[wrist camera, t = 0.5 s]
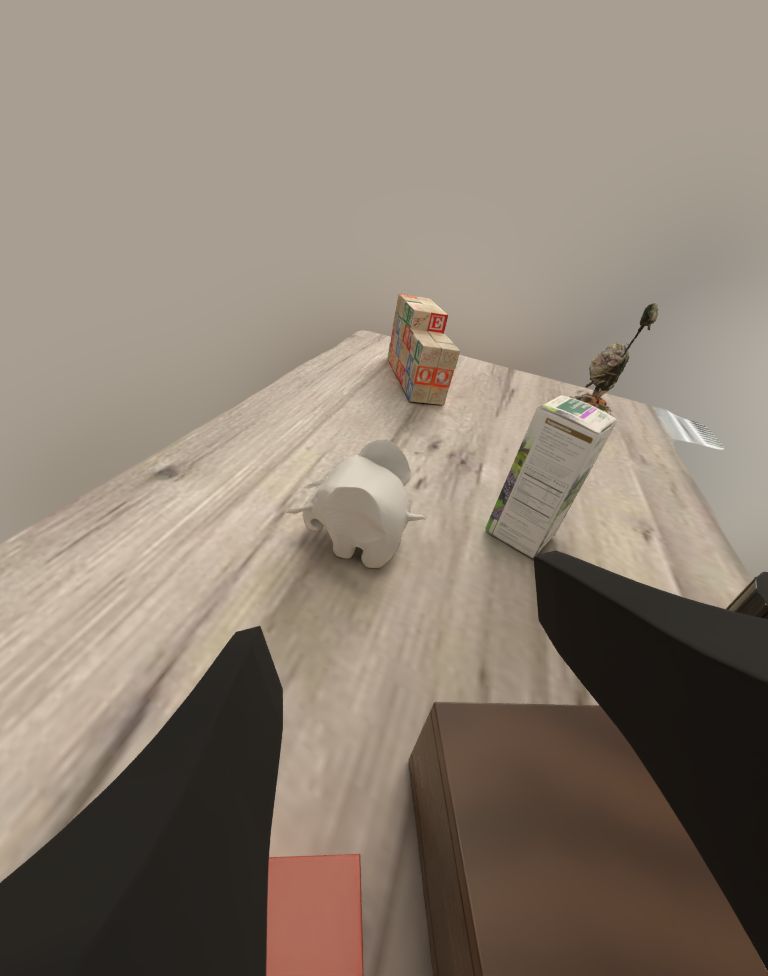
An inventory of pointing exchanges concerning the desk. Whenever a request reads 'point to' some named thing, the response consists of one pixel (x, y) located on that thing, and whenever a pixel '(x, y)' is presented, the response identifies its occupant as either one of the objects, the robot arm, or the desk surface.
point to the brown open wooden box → (559, 852)
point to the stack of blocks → (422, 350)
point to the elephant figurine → (363, 503)
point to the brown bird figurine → (612, 365)
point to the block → (314, 916)
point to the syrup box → (548, 472)
